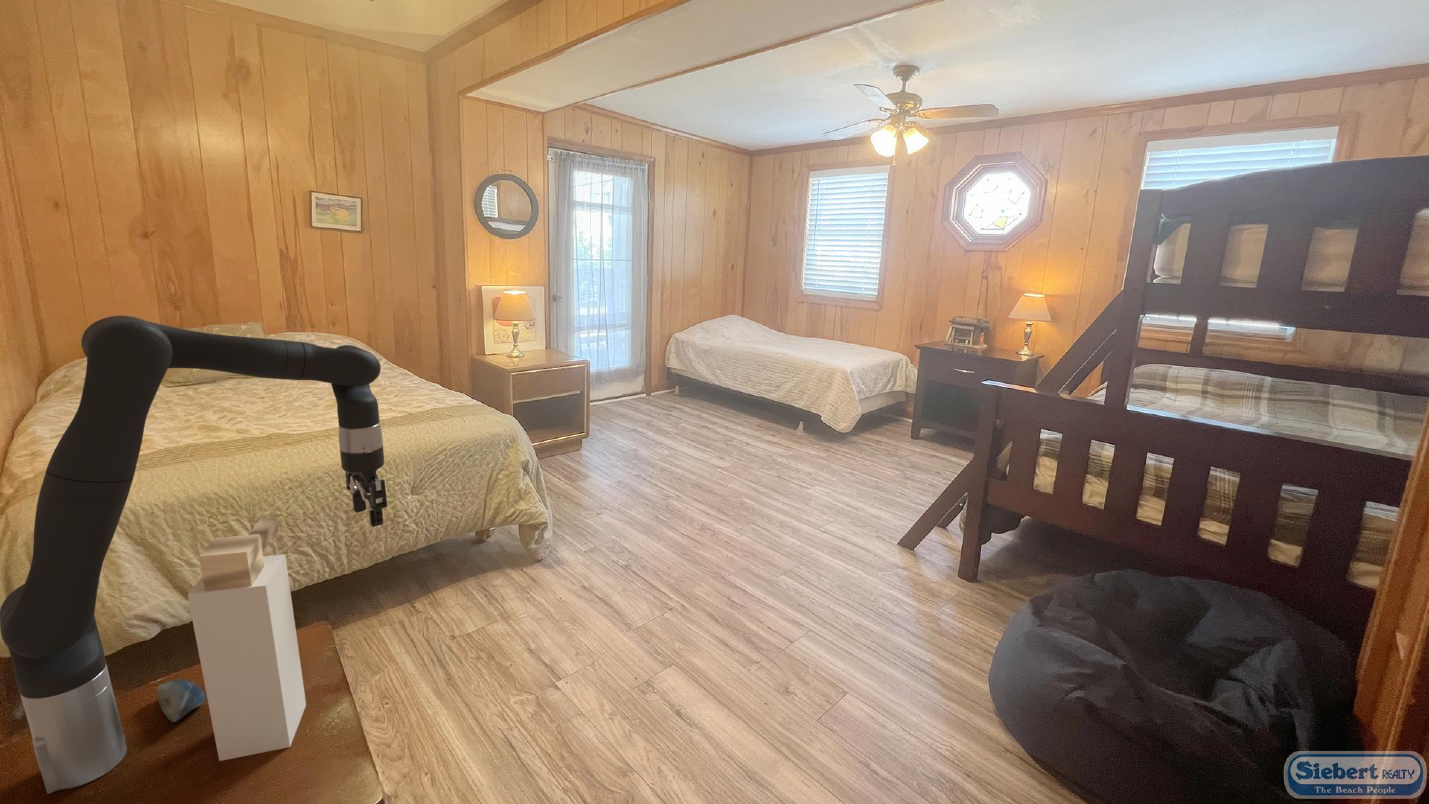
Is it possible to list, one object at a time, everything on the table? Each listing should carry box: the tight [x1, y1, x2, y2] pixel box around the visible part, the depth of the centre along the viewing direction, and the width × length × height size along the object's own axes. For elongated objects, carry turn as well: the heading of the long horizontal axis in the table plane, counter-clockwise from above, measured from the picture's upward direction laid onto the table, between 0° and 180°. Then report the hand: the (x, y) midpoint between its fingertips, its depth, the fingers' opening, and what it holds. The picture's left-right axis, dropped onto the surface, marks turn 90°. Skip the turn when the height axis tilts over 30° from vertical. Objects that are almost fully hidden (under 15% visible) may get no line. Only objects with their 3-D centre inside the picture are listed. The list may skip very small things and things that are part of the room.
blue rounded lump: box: [156, 679, 207, 723], centre depth 108 cm, size 6×9×10 cm
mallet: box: [198, 517, 279, 591], centre depth 101 cm, size 20×6×6 cm, turn 21°
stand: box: [187, 553, 307, 762], centre depth 101 cm, size 10×10×32 cm
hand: (368, 518), depth 123 cm, fingers open, 8 cm apart
